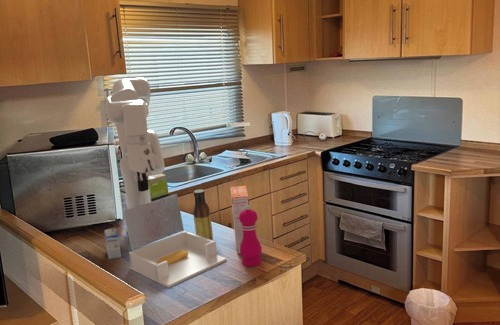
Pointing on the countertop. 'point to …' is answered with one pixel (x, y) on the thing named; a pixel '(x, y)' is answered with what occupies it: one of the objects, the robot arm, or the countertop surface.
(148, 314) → the countertop surface
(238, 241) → the cracker box
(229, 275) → the countertop surface
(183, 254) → the golden yellow ridged bar
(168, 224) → the cover
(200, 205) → the sauce bottle
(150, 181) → the tea box
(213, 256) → the white shallow open box
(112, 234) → the medicine box
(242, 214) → the pepper mill
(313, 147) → the countertop surface
